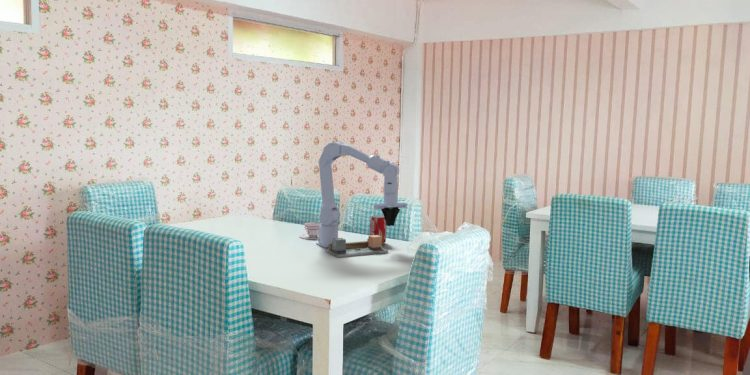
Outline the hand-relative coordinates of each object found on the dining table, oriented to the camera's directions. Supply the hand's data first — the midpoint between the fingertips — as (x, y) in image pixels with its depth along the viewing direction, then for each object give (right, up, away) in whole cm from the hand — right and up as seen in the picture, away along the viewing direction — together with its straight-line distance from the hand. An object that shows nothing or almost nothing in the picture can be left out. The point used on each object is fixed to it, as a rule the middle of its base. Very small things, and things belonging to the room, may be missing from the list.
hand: (390, 225), depth 264 cm
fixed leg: (-21, -10, -8) cm, 25 cm away
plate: (-14, -10, -6) cm, 18 cm away
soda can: (-5, -9, +13) cm, 16 cm away
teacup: (-35, -7, +26) cm, 44 cm away
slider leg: (-7, -9, -1) cm, 11 cm away
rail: (-16, -10, -1) cm, 19 cm away
